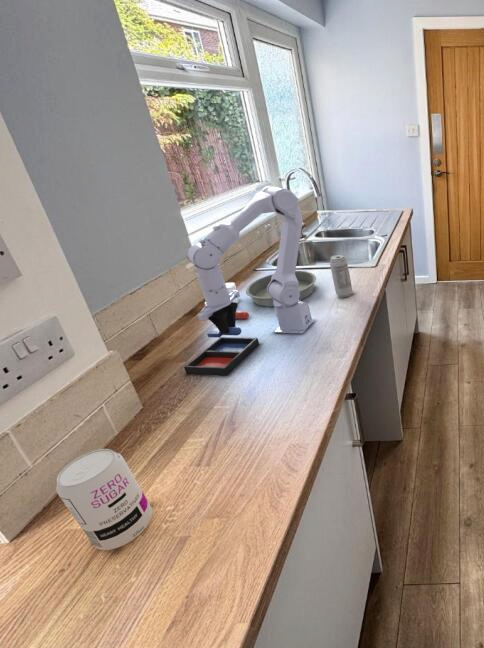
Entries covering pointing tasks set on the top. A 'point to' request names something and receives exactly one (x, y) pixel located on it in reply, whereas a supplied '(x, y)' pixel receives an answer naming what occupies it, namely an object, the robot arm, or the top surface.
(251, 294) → the cake pan
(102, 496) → the supplement can
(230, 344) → the black divided tray
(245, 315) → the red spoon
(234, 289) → the white cup
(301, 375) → the top surface
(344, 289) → the grey cylinder
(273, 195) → the robot arm
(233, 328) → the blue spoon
